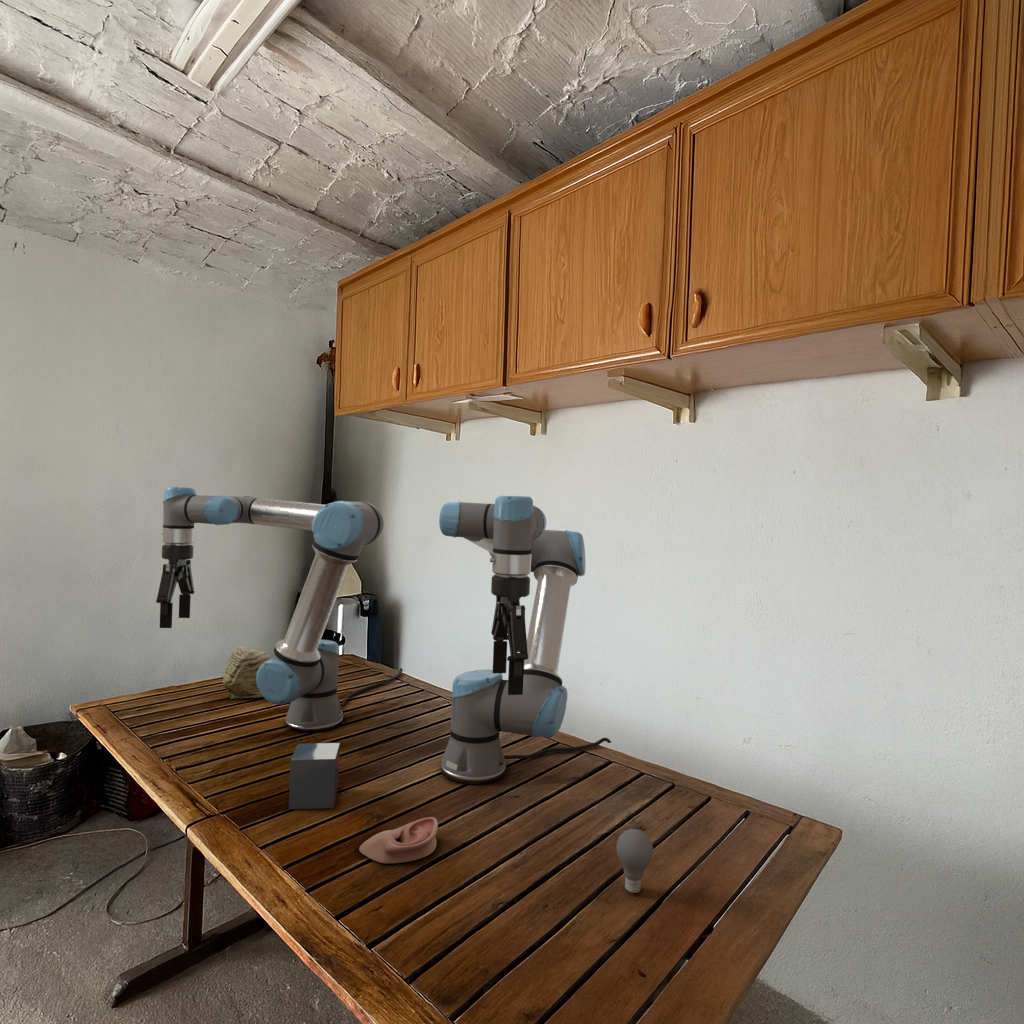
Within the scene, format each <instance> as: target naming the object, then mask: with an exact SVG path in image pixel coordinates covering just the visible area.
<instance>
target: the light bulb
mask: <svg viewBox="0 0 1024 1024" xmlns="http://www.w3.org/2000/svg"><path fill="white" fill-rule="evenodd" d="M615 849H616V854H617V857H618V859H619V861H620V863H621V865H622V867H623V873H624V874H623V875H624V876H625V878H624V888H625V890H627V891H628V892H630V893H634V894H635V893H639V892H640V891H641V889H642V887H641V886H642V879H643V877H644V875H645V871H646V868H647V867H648V866H649V864H650V863H651V861H652V859H653V855H654V847H653V843H652V841H651V838H649V836H648V835H647V834H646V833H645V832H643V831H642V830H641V829H636V828H629V829H627V830H625V831H623V832H622V833H621V834H620V835H619V837H618V839H617V841H616V847H615Z"/></svg>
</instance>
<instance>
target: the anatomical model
mask: <svg viewBox="0 0 1024 1024" xmlns="http://www.w3.org/2000/svg"><path fill="white" fill-rule="evenodd" d="M438 830H439V822H438V819H437V818H436V817H434V816H428V817H423V818H419V819H417V820H414V821H410V822H409V823H407V824H404V825H401V826H398V827H397V828H395V829H388V830H383V831H381V832H378V833H376V834H374V835H372V836H371V837H369V838H368V839H366V840H365V841H364V842H363V843H362V844H361V845H360V846H359V848H358V850H359V852H360V853H361V854H362V855H364V857H366V858H368V859H369V860H372V861H374V862H377V863H380V864H399V863H400V864H401V863H409V862H413V861H417V860H420V859H422V858H426V857H427V856H429V855H431V854H432V853H433V852H435V850H436V847H437V837H436V836H437V834H438Z"/></svg>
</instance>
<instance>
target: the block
mask: <svg viewBox="0 0 1024 1024" xmlns="http://www.w3.org/2000/svg"><path fill="white" fill-rule="evenodd" d="M340 749H341V743H340V742H318V743H314V742H313V743H297V745H296V747H295V749H294V752H293V754H292V755H291V758H290V761H289V763H290V765H289V788H288V789H289V791H288V792H289V793H288V810H313V809H314V810H315V809H316V810H317V809H334V807H335V803H336V799H337V795H338V791H339V776H340V775H339V774H340Z"/></svg>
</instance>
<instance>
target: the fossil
mask: <svg viewBox="0 0 1024 1024" xmlns="http://www.w3.org/2000/svg"><path fill="white" fill-rule="evenodd" d="M270 659H271V657H270V656H269V655H268V654H267V653H266V652H265V650H264V649H263V648H260V647H258V648H251V647H247V646H246V647H245V646H238V647H237V648H236V649H235V650H233V651H232V653H231V656H230V657H229V659H228V660H227V663H226V666H225V668H224V671H223V675H222V676H223V677H222V685H223V687H224V688H225V690H226V691H228V693H229V698H230V699H250V698H264V697H263V696H262V694H261V693H260V690H259V688H258V687H257V682H256V676H257V672H258V669H259V668H260V666H261V665H262V664H263V663H264V662H266V661H268V660H270Z"/></svg>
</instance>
